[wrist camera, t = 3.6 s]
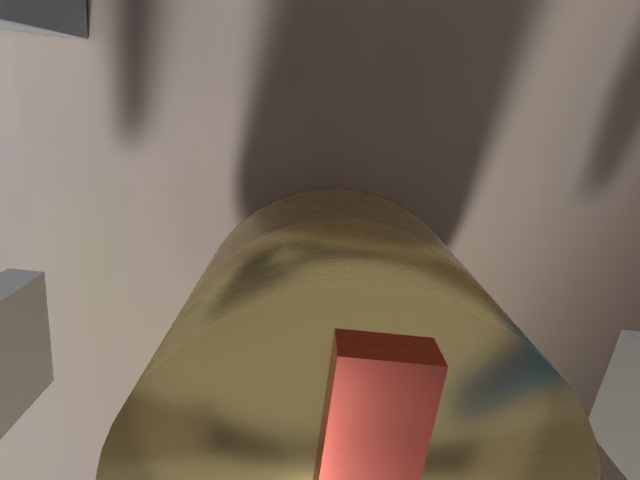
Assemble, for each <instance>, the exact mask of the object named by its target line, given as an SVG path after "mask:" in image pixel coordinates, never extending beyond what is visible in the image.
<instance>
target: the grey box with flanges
mask: <svg viewBox="0 0 640 480" xmlns="http://www.w3.org/2000/svg"><path fill="white" fill-rule="evenodd" d="M0 28H2V29H10V30H18V31H26V32H34V33H42V34H50V35H58V36H66V37H74V38H82V39H88V31H87V8H86V0H0Z"/></svg>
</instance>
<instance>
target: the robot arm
mask: <svg viewBox="0 0 640 480" xmlns="http://www.w3.org/2000/svg"><path fill="white" fill-rule="evenodd" d="M53 380H54V378H53V366H52V355H51V343H50V331H49V320H48V308H47V297H46V285H45V274H44V272H39V271H29V270H19V269H9V268H8V269H6V270H4V271H2V272H1V273H0V439H1V438H2V437H3V436H4V435H5V434H6V432H7V431H8V430H9V429H10V428H11V427H12V426H13V425H14V424H15V422H16V421H17V420H18V419H19V418H20V417H21V416H22V415H23V414H24V412H25V411H26V410H27V409H28V408H29V407H30V406H31V405H32V404H33V402H34V401H35V400H36V399H37V398H38V397H39V396H40V395H41V394H42V392H43V391H44V390H45V389H46V388H47V387H48V386H49V385H50V384H51V382H52V381H53ZM588 419H589V422H590V425H591V427H592V430H593V432H594V435H595V437H596V441H597V442H598V444H599V445H600V446H601V447H602V449H603V450H604V451H605V452H606V454H607V455H608V456H609V457H610V459H611V460H612V461H613V462H614V464H615V465H616V466H617V467H618V469H619V470H620V471H621V472H622V474H623V475H624V476H625V477H626V479H627V480H640V331H630V330H621V333H620V335H619V338H618V341H617V343H616V346H615V349H614V351H613V354H612V357H611V359H610V362H609V365H608V367H607V370H606V373H605V375H604V378H603V381H602V383H601V386H600V389H599V391H598V394H597V397H596V399H595V402H594V405H593V407H592V410H591V413H590V415H589V418H588Z"/></svg>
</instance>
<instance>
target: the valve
mask: <svg viewBox="0 0 640 480" xmlns="http://www.w3.org/2000/svg"><path fill="white" fill-rule="evenodd" d="M96 480H601V462H600V457H599V452H598V446H597V441H596V437H595V435H594V432H593V430H592V427H591V425H590V422H589V419H588V417H587V414H586V412H585V410H584V409H583V407H582V406H581V404H580V402H579V401H578V399H577V397H576V396H575V394H574V392H573V391H572V389H571V388H570V386H569V385H568V384H567V383H566V382H565V381H564V379H563V378H562V377H561V376H560V375H559V374H558V372H557V371H556V370H555V369H554V368H553V367H552V365H551V364H550V363H549V362H548V361H547V360H546V359H545V357H544V356H543V355H542V354H541V353H540V352H539V351H538V350H537V348H536V347H535V346H534V345H533V344H532V343H531V342H530V340H529V339H528V338H527V337H526V336H525V335H524V334H523V333H522V331H521V330H520V329H519V328H518V327H517V326H516V325H515V323H514V322H513V321H512V320H511V319H510V318H509V317H508V316H507V314H506V313H505V312H504V311H503V310H502V309H501V308H500V306H499V305H498V304H497V303H496V302H495V301H494V300H493V299H492V297H491V296H490V295H489V294H488V293H487V292H486V291H485V290H484V288H483V287H482V286H481V285H480V284H479V283H478V282H477V280H476V279H475V278H474V277H473V276H472V275H471V274H470V273H469V271H468V270H467V269H466V268H465V267H464V266H463V265H462V263H461V262H460V261H459V260H458V259H457V258H456V257H455V256H454V254H453V253H452V252H451V251H450V250H449V249H448V248H447V246H446V245H445V244H444V243H443V242H442V241H441V240H440V239H439V237H438V236H437V235H436V234H435V233H434V232H433V231H432V229H431V228H430V227H429V226H427V225H426V224H425V223H424V222H423V221H422V220H421V219H419V218H418V217H417V216H416V215H414V214H413V213H411V212H410V211H408V210H407V209H405V208H404V207H402V206H400V205H398V204H396V203H394V202H392V201H390V200H387V199H385V198H382V197H379V196H376V195H373V194H370V193H365V192H360V191H354V190H345V189H322V190H311V191H307V192H302V193H297V194H293V195H290V196H288V197H285V198H282V199H279V200H276V201H274V202H272V203H270V204H268V205H266V206H265V207H263V208H261V209H259V210H258V211H256V212H255V213H253V214H252V215H250V216H249V217H247V218H246V219H245V220H244V221H243V222H241V223H240V224H239V225H238V226H237V227H236V228H235V229H234V230H233V231H232V232H231V233H230V234H229V235H228V237H227V238H226V239H225V240H224V242H223V243H222V244H221V246H220V247H219V249H218V250H217V252H216V254H215V255H214V257H213V259H212V260H211V262H210V264H209V265H208V267H207V268H206V270H205V272H204V273H203V275H202V277H201V278H200V280H199V282H198V283H197V285H196V287H195V288H194V290H193V292H192V293H191V295H190V297H189V298H188V300H187V301H186V303H185V305H184V306H183V308H182V310H181V311H180V313H179V315H178V316H177V318H176V320H175V321H174V323H173V325H172V326H171V328H170V330H169V331H168V333H167V334H166V336H165V338H164V339H163V341H162V343H161V344H160V346H159V348H158V349H157V351H156V353H155V354H154V356H153V358H152V359H151V361H150V362H149V364H148V366H147V367H146V369H145V371H144V372H143V374H142V376H141V377H140V379H139V381H138V382H137V384H136V386H135V387H134V389H133V391H132V392H131V394H130V395H129V397H128V399H127V400H126V402H125V404H124V405H123V407H122V409H121V410H120V412H119V414H118V415H117V417H116V419H115V420H114V422H113V424H112V426H111V428H110V431H109V433H108V436H107V438H106V441H105V443H104V446H103V448H102V451H101V456H100V460H99V465H98V470H97V474H96Z"/></svg>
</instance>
